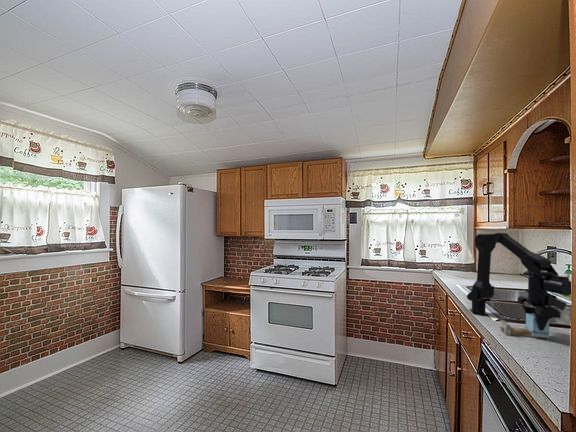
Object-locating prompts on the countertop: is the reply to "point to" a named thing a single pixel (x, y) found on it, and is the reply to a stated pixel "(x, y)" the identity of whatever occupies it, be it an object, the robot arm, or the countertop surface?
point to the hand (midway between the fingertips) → (537, 327)
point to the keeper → (536, 326)
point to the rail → (516, 330)
